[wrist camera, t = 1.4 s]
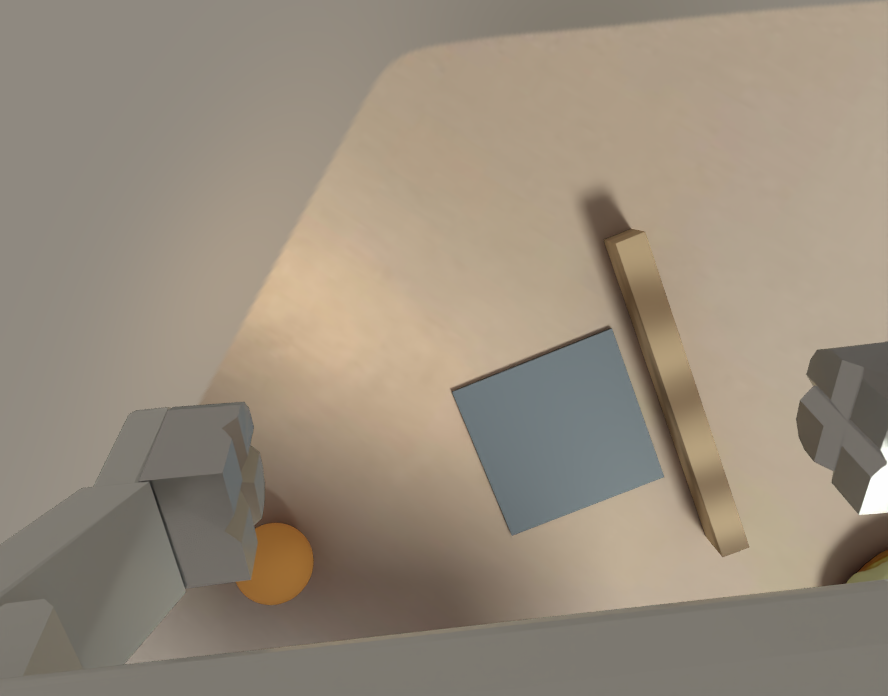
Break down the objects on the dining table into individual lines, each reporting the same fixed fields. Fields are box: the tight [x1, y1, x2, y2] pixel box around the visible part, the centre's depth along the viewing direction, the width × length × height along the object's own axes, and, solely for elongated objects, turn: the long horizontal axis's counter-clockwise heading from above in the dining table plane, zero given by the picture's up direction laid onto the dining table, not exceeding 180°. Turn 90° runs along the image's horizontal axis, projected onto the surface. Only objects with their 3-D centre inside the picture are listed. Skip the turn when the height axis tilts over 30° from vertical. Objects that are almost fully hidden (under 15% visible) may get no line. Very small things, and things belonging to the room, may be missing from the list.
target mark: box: [452, 328, 664, 536], centre depth 52 cm, size 12×12×1 cm
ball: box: [236, 523, 314, 605], centre depth 50 cm, size 6×6×6 cm
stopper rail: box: [604, 229, 749, 557], centre depth 50 cm, size 24×2×3 cm, turn 22°
